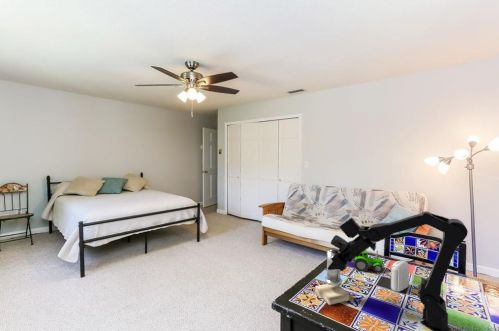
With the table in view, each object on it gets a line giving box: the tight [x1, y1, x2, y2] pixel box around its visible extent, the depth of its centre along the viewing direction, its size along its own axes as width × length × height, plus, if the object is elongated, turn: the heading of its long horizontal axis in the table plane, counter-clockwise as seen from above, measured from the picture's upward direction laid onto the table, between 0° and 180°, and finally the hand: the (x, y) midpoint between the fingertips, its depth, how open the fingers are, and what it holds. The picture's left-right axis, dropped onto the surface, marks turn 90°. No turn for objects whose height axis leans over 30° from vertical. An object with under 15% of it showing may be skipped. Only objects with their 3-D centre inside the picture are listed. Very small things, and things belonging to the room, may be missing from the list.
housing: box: [324, 247, 343, 287], centre depth 109 cm, size 7×7×14 cm
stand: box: [314, 283, 350, 306], centre depth 109 cm, size 10×10×3 cm
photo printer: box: [390, 260, 410, 292], centre depth 116 cm, size 10×4×12 cm, turn 123°
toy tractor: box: [350, 249, 385, 273], centre depth 136 cm, size 11×16×10 cm
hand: (330, 266), depth 110 cm, fingers closed on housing, 5 cm apart
